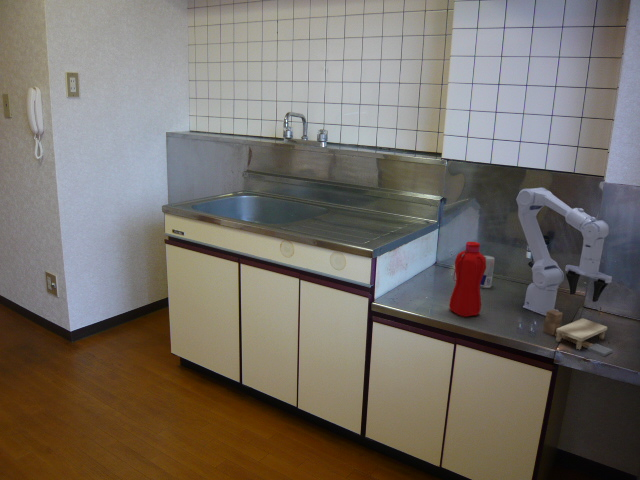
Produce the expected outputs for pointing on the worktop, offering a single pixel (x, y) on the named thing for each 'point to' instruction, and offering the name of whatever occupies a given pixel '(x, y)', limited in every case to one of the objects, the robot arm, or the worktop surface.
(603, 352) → the coaster
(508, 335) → the worktop surface
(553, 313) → the wooden mallet
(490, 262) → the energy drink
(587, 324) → the small wooden table
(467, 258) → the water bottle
